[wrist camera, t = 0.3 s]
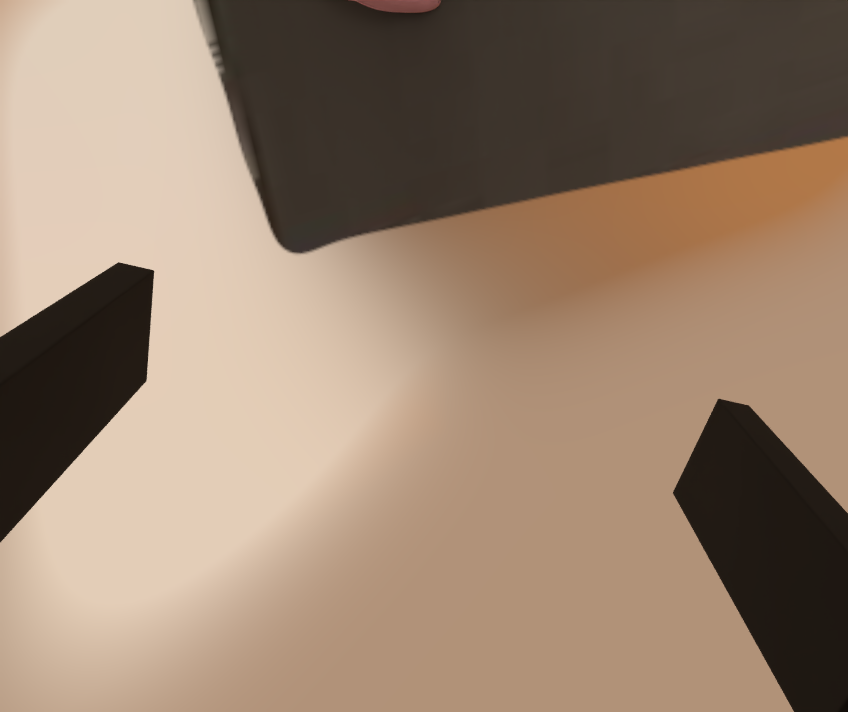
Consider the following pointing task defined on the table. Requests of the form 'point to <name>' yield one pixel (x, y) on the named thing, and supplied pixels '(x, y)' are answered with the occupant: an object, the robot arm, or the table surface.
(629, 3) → the table surface
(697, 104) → the table surface
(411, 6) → the video game controller
